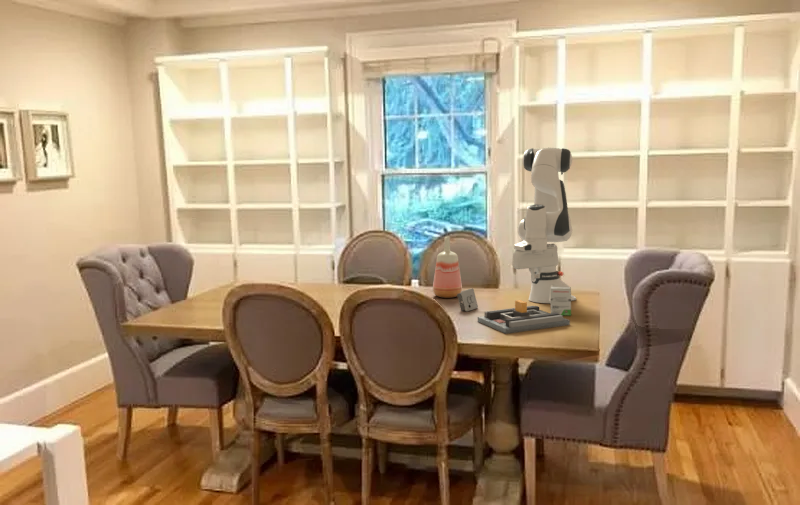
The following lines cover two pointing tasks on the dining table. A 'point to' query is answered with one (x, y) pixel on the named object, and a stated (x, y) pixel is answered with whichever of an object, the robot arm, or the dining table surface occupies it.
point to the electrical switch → (467, 300)
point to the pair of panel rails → (525, 320)
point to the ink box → (561, 300)
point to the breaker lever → (520, 309)
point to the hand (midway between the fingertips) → (535, 278)
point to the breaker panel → (502, 327)
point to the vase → (447, 273)
